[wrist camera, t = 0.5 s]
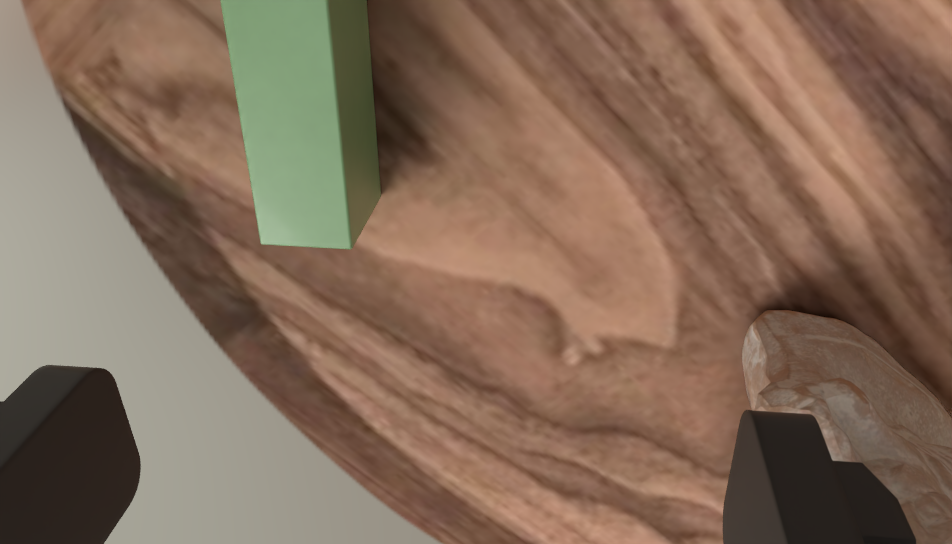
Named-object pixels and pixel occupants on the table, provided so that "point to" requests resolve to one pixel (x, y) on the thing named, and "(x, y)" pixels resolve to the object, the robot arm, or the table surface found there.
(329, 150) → the bar
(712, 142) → the table surface
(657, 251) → the table surface
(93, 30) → the table surface
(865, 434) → the sculpture
